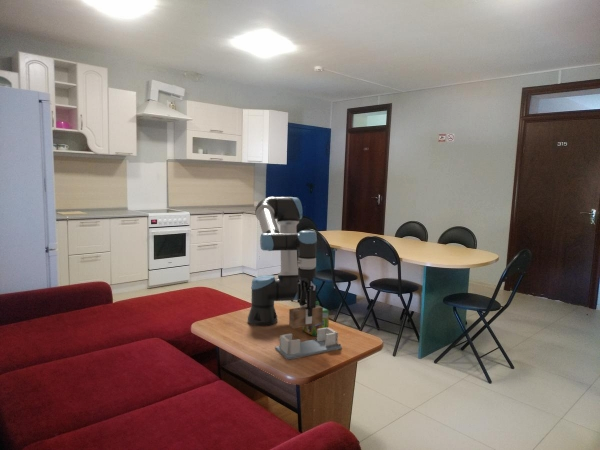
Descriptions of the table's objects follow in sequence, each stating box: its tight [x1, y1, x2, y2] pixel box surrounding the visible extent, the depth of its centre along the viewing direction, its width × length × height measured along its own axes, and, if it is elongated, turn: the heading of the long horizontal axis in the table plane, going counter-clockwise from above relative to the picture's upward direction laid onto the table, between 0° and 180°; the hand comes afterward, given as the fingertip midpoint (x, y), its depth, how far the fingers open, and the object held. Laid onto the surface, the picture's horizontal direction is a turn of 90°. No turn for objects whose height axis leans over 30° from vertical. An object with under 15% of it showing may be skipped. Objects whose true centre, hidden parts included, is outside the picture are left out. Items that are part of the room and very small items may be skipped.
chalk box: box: [302, 300, 330, 337], centre depth 192 cm, size 9×9×15 cm
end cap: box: [316, 326, 339, 346], centre depth 176 cm, size 8×6×5 cm
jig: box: [274, 333, 343, 360], centre depth 172 cm, size 12×26×6 cm, turn 118°
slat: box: [288, 304, 324, 329], centre depth 170 cm, size 14×4×7 cm, turn 119°
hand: (305, 321), depth 170 cm, fingers closed on slat, 4 cm apart
